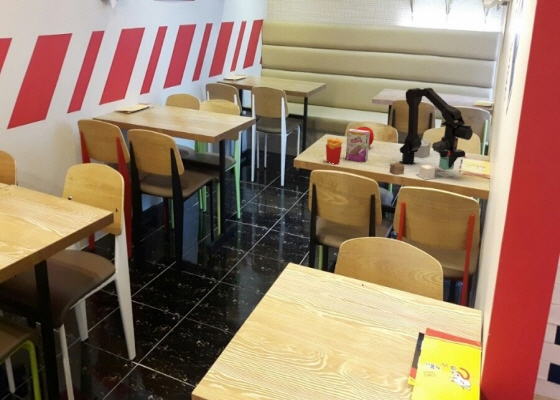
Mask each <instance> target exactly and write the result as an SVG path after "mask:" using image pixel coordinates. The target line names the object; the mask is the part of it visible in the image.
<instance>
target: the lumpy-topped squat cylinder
mask: <svg viewBox="0 0 560 400" xmlns="http://www.w3.org/2000/svg"><path fill="white" fill-rule="evenodd" d="M421 143H422V145H421V147H420V148H419V149H418V151H417V152H414V153H415V154H414V158H419V159H427V158H428V157H430V153H431V145H432V144H431V141H430V140H428V139H426V138H424V139H423V138H422V140H421Z"/></svg>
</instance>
